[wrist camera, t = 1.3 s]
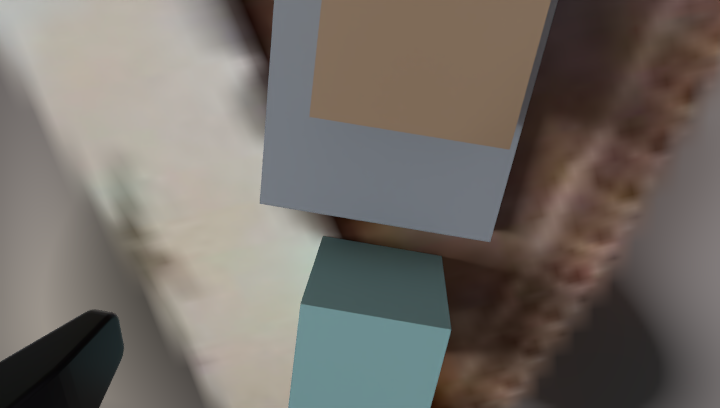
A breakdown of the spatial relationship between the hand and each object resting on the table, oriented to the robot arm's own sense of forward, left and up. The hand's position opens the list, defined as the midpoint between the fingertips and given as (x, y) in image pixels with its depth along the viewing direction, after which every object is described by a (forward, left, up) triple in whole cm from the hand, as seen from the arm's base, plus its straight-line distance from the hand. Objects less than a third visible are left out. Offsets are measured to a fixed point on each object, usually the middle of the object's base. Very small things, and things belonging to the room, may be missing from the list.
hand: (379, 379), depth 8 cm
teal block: (-6, 0, -12) cm, 14 cm away
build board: (+4, 0, -12) cm, 13 cm away
